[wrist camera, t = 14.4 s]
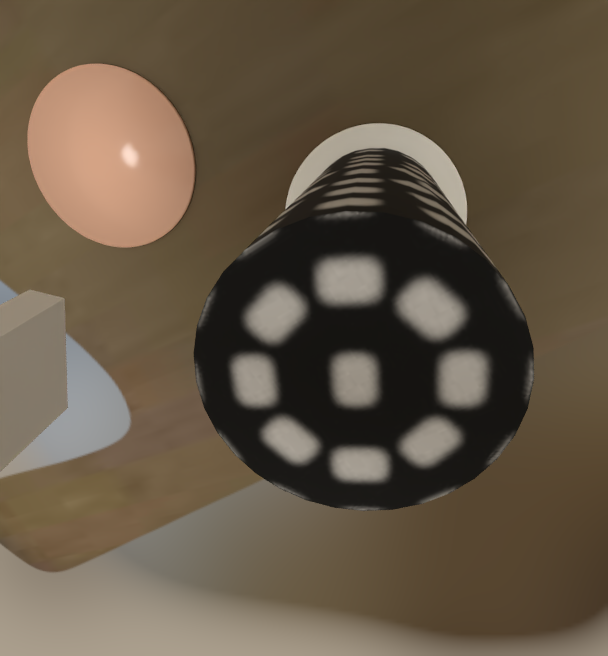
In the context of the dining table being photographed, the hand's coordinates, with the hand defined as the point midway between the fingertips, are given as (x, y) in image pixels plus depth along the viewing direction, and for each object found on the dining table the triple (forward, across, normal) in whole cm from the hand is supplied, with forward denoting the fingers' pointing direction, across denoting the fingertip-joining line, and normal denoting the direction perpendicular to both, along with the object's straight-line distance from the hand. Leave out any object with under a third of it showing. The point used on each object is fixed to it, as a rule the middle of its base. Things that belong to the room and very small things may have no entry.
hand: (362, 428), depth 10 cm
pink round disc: (+22, -17, -1) cm, 28 cm away
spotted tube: (+22, 0, -1) cm, 22 cm away
